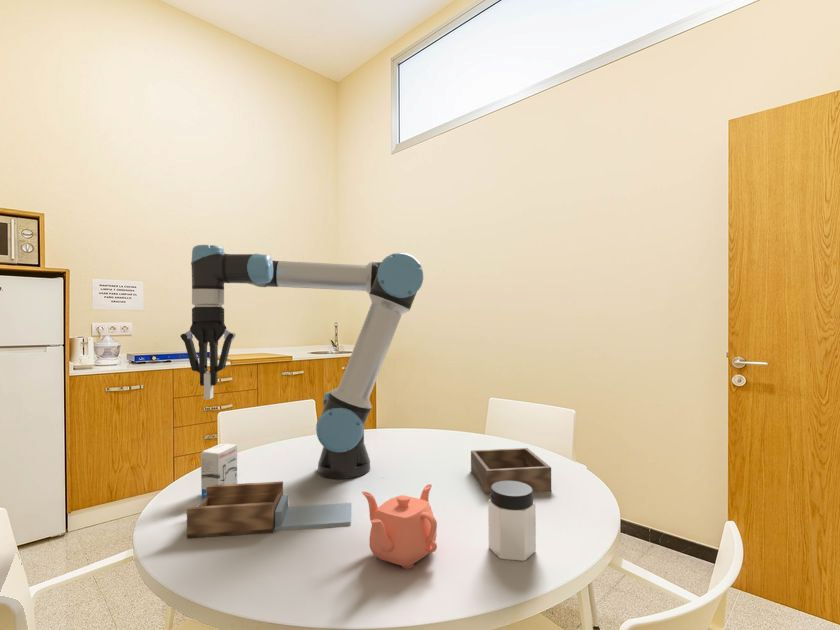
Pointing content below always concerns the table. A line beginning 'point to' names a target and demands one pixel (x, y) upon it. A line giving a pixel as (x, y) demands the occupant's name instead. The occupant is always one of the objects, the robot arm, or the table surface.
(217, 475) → the ink box
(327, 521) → the lid
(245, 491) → the box
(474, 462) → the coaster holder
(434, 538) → the teapot
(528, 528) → the jar
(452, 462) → the table surface
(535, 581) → the table surface
